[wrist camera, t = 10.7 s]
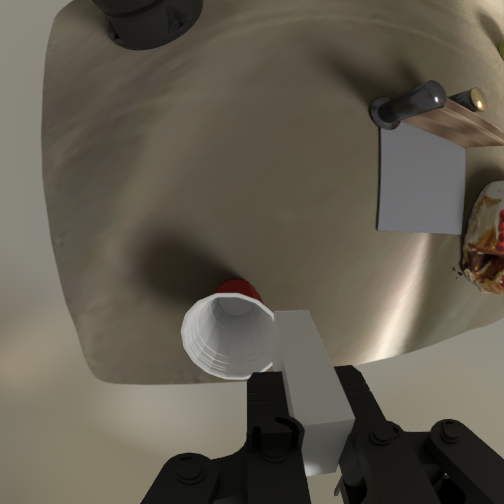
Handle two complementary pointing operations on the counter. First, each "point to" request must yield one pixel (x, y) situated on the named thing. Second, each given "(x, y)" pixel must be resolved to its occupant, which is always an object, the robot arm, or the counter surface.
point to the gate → (458, 126)
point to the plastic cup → (230, 332)
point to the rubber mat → (420, 182)
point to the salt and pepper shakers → (421, 103)
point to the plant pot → (501, 49)
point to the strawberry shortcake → (486, 241)
